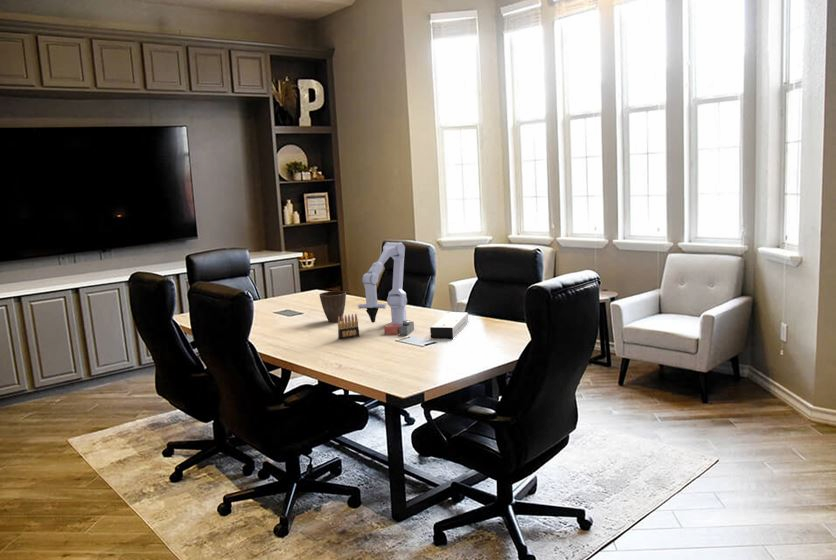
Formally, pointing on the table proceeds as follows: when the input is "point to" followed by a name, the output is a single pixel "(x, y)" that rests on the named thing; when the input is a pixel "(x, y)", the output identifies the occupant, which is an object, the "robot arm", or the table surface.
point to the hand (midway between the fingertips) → (373, 322)
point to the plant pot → (333, 304)
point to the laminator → (449, 325)
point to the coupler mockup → (406, 328)
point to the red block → (392, 328)
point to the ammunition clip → (348, 328)
